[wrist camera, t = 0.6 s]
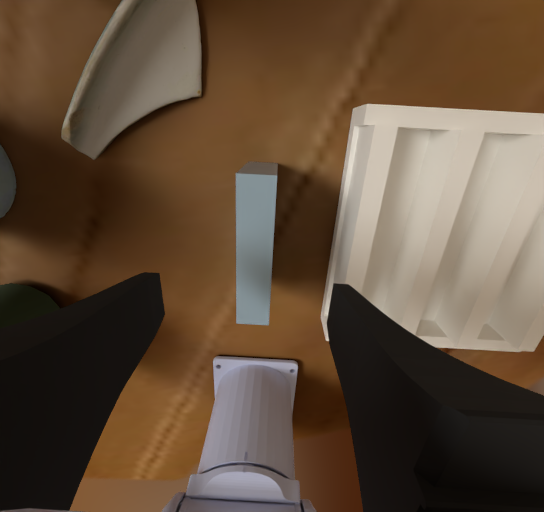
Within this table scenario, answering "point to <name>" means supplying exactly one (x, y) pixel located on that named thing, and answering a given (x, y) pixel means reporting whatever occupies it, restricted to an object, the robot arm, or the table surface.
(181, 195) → the table surface
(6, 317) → the cream and green mug
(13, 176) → the light blue cup
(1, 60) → the table surface
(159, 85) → the ceramic fragment
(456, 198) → the rack
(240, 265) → the tile
